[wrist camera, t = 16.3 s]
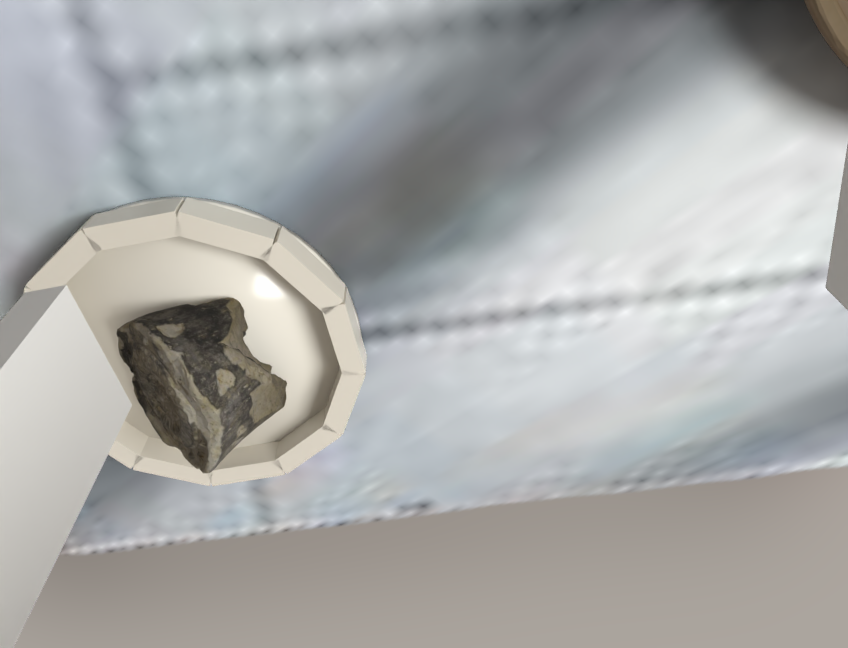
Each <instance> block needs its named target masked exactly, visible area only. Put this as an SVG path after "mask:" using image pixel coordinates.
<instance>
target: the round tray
mask: <svg viewBox="0 0 848 648" xmlns="http://www.w3.org/2000/svg"><path fill="white" fill-rule="evenodd" d="M63 285H67V287H68V289H69V290H70V292H71V294H72V296H73V298H74V299H75V301H76V303H77V305H78V307H79V309H80V310H81V312H82V314H83V316H84V318H85V320H86V321H87V323H88V325H89V327H90V329H91V331H92V332H93V334H94V336H95V338H96V340H97V342H98V343H99V345H100V347H101V349H102V351H103V352H104V354H105V356H106V358H107V360H108V362H109V363H110V365H111V367H112V369H113V371H114V373H115V374H116V376H117V378H118V380H119V382H120V384H121V385H122V387H123V389H124V391H125V393H126V395H127V396H128V398H129V400H130V402H131V404H132V406H131V408H130V411H129V413H128V415H127V417H126V419H125V421H124V423H123V425H122V427H121V429H120V431H119V433H118V435H117V437H116V439H115V441H114V443H113V445H112V447H111V449H110V451H109V453H108V455H110V456H111V457H113V458H114V459H116V460H118V461H119V462H121V463H122V464H124V465H125V466H127V467H128V468H132V467H133V466H134V468H133V470H136V471H141V472H146V473H150V474H155V475H160V476H165V477H169V478H174V479H179V480H183V481H188V482H193V483H197V484H202V485H207V486H210V484H212V486H217V485H224V484H230V483H236V482H243V481H249V480H255V479H262V478H268V477H274V476H281V475H285V473H287V474H288V473H289V472H291V471H292V470H294V469H295V468H296V467H298V466H299V465H301V464H302V463H304V462H305V461H306V460H308V459H309V458H311V457H312V456H314V455H315V454H317V453H318V452H319V451H321V450H322V449H324V448H325V447H327V446H328V445H329V444H331V443H332V442H334V441H335V440H337V439H338V438H340V437H341V434H343V433H344V430H345V427H346V425H347V422H348V420H349V417H350V414H351V412H352V409H353V407H354V404H355V401H356V399H357V396H358V394H359V391H360V388H361V386H362V383H363V380H364V378H365V374H366V359H367V354H366V351H365V347H364V344H363V340H362V336H361V328H360V323H359V319H358V314H357V312H356V309H355V306H354V304H353V301H352V298H351V296H350V295H349V292H348V288H347V287H345V284H344V283H343V282H342V280H341V279H340V278H339V276H338V275H337V273H336V272H335V271H334V269H333V268H332V267H331V265H330V264H329V263H328V262H327V261H326V260H325V259H324V258H323V257H322V256H321V255H320V254H319V253H318V252H317V250H315V249H314V248H313V247H312V246H311V245H309V244H308V243H307V242H306V241H305V240H303V239H302V238H301V237H300V236H298V235H297V234H295V233H294V232H292V231H291V230H289V229H287V228H286V227H284V226H283V225H281V224H280V223H278V222H276V221H274V220H271V219H269V218H267V217H265V216H263V215H261V214H259V213H257V212H254V211H251V210H248V209H246V208H243V207H240V206H237V205H233V204H229V203H225V202H221V201H217V200H212V199H203V198H195V197H161V198H153V199H146V200H141V201H137V202H133V203H129V204H125V205H122V206H119V207H117V208H115V209H112V210H110V211H107V212H102V213H97V214H95V215H94V216H93V215H92V216H91V217H90V218H89V219H88V220H87V221H86V222H85V223H84V224H83V225H82V226H81V227H80V228H79V229H78V230H77V231H76V232H75V233H74V234H73V235H72V236H71V237H70V238H69V239H68V240H67V241H66V243H65V244H64V245H63V246H62V247H61V248H60V249H59V250H58V251H57V252H56V253H55V254H54V255H53V256H52V257H51V258H50V259H49V260H48V261H47V262H46V263H45V264H44V265H43V266H42V267H41V268H40V269H39V270H38V271H37V272H36V274H35V275H34V276H33V277H32V278H31V279H30V280H29V282H28V283H27V284H26V285H25V288H24V293H25V292H31V291H36V290H42V289H47V288H52V287H58V286H63ZM224 298H234V299H236V300H238V301H239V302H240V303H241V305H242V307H243V309H244V317H245V320H246V323H247V325H248V329H247V331H246V335H245V336H244V337H243V340H244V342H245V344H246V345H247V347H248V348H249V351H250V352H251V354H252V355H253V357H255V358H257V359H258V360H259V361H260V362H262V363H265V364H269V365H271V366H272V369H271V374H275V375H277V376H278V377H280V378H281V379H283V380H286V382H287V386H286V402H285V405H284V407H283V408H282V409H280V410H279V411H278V412H276V413H275V414H274V415H273V416H271V417H270V418H269V419H267V420H266V421H265V422H263V423H262V424H261V425H259V426H258V427H257V428H256V429H255V430H253V431H252V432H251V433H250V434H249V435H248V436H246V437H245V438H244V439H243V440H242V441H241V442H240V443H239V444H238V445H237V446H236V447H235V448H234V449H233V450H232V451H231V452H230V453H229V454H228V455H227V456H226V457H225V458H224V459H223V460H222V461H221V462H220V464H219V465H218V466H217V467H216V468H215V469H214V470H213V471H212V472H210V473H202V472H201V470H200V469H196V468H195V467H194V466H192V465H191V464H190V463H189V462H188V461H187V460H186V459H185V457H184V456H183V454H182V452H181V451H180V450H179V449H178V448H176V447H171V446H168V445H166V444H165V443H164V442H163V441H162V440H161V438H160V436H159V435H158V434H157V432H156V431H155V429H154V428H153V426H152V424H151V423H150V421H149V419H148V418H147V416H146V415H145V412H144V409H143V408H142V407H141V405H140V404H139V402H138V400H137V398H136V396H135V393H134V386H133V383H132V377H133V376H134V374H133V373H131V371H130V368H129V367H128V366H127V364H126V363H124V361H123V360H122V358H121V356H120V354H119V349H118V337H117V334H116V333H117V329H118V328H120V327H121V326H122V325H124V324H125V323H127V322H129V321H132V320H134V319H136V318H138V317H141V316H143V315H146V314H148V313H152V312H156V311H160V310H163V309H167V308H171V307H175V306H179V305H184V304H190V305H195V306H196V305H199V304H202V303H208V302H210V301H214V300H219V299H224Z"/></svg>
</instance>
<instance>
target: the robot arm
mask: <svg viewBox="0 0 848 648" xmlns="http://www.w3.org/2000/svg"><path fill="white" fill-rule="evenodd" d="M826 289H827V290H828V291H829V292H830V293H831V294H832V295H833V296H834V297H835V298H836V299H837V300H838V301H839V302H840V303H841V304H842V305H843V306H844V307H845V308H846V309H847V310H848V145H847V152H846V158H845V165H844V171H843V178H842V184H841V191H840V197H839V204H838V210H837V217H836V223H835V230H834V236H833V243H832V249H831V256H830V262H829V269H828V276H827V282H826ZM131 406H132V404H131V402H130V400H129V398H128V396H127V395H126V393H125V391H124V389H123V387H122V385H121V384H120V382H119V380H118V378H117V376H116V374H115V373H114V371H113V369H112V367H111V365H110V363H109V362H108V360H107V358H106V356H105V354H104V352H103V351H102V349H101V347H100V345H99V343H98V342H97V340H96V338H95V336H94V334H93V332H92V331H91V329H90V327H89V325H88V323H87V321H86V320H85V318H84V316H83V314H82V312H81V310H80V309H79V307H78V305H77V303H76V301H75V299H74V298H73V296H72V294H71V292H70V290H69V289H68V287H67V285H63V286H58V287H52V288H47V289H42V290H36V291H31V292H25V293H24V294H23V295H22V297H21V298H20V299H19V300H18V301H17V302H16V304H15V305H14V306H13V307H12V308H11V309H10V310H9V312H8V313H7V314H6V315H5V316H4V317H3V319H2V320H1V321H0V648H14V646H15V643H16V642H17V640H18V637H19V635H20V633H21V631H22V629H23V627H24V625H25V623H26V621H27V619H28V617H29V615H30V613H31V611H32V609H33V607H34V605H35V603H36V601H37V599H38V596H39V595H40V593H41V590H42V588H43V586H44V584H45V582H46V580H47V578H48V576H49V574H50V572H51V570H52V568H53V566H54V564H55V562H56V560H57V558H58V556H59V554H60V552H61V550H62V548H63V546H64V543H65V541H66V539H67V537H68V535H69V533H70V531H71V529H72V527H73V525H74V523H75V521H76V519H77V517H78V515H79V513H80V511H81V509H82V507H83V505H84V503H85V501H86V498H87V496H88V494H89V492H90V490H91V488H92V486H93V484H94V482H95V480H96V478H97V476H98V474H99V472H100V470H101V468H102V466H103V464H104V462H105V460H106V458H107V456H108V453H109V451H110V449H111V447H112V445H113V443H114V441H115V439H116V437H117V435H118V433H119V431H120V429H121V427H122V425H123V423H124V421H125V419H126V417H127V415H128V413H129V411H130V408H131Z"/></svg>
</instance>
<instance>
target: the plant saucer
mask: <svg viewBox="0 0 848 648" xmlns="http://www.w3.org/2000/svg"><path fill="white" fill-rule="evenodd" d="M804 2H805V4H806V6H807V9H808V11H809V13H810V15H811V17H812V19H813V20H814V22H815V24H816V26H817V28H818V30H819V32H820V33H821V35H822V36H823V38H824V39H825V41H826V42H827V44H828V45H829V46H830V48H831V49H832V50H833V51H834V53H835V54H836V55H837V56H838V58H839V59H840V60H841V61H842V62H843V63H844V64H845V65H846V66H847V67H848V0H804Z"/></svg>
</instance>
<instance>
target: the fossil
mask: <svg viewBox="0 0 848 648" xmlns="http://www.w3.org/2000/svg"><path fill="white" fill-rule="evenodd" d="M247 329H248V325H247V323H246V320H245V317H244V309H243V307H242V305H241V303H240V302H239V301H238V300H236V299H234V298H224V299H219V300H214V301H210V302H208V303H202V304H199V305H196V306H195V305H190V304H184V305H179V306H175V307H171V308H167V309H163V310H160V311H156V312H152V313H148V314H146V315H143V316H141V317H138V318H136V319H134V320H132V321H129V322H127V323H125V324H124V325H122V326H121V327H120V328H118V329H117V333H116V334H117V337H118V349H119V354H120V356H121V358H122V360H123V361H124V363H126V364H127V366H128V367H129V368H130V371H131V373H133V374H134V376H133V377H132V383H133V386H134V393H135V396H136V398H137V400H138V402H139V404H140V405H141V407H142V408H143V409H144V412H145V415H146V416H147V418H148V419H149V421H150V423H151V424H152V426H153V428H154V429H155V431H156V432H157V434H158V435H159V436H160V438H161V440H162V441H163V442H164V443H165V444H166V445H168V446H171V447H176V448H178V449H179V450H180V451H181V452H182V454H183V456H184V457H185V459H186V460H187V461H188V462H189V463H190V464H191V465H192V466H194V467H195V468H196V469H200V470H201V472H202V473H210V472H212V471H213V470H214V469H215V468H216V467H217V466H218V465H219V464H220V462H221V461H222V460H223V459H224V458H225V457H226V456H227V455H228V454H229V453H230V452H231V451H232V450H233V449H234V448H235V447H236V446H237V445H238V444H239V443H240V442H241V441H242V440H243V439H244V438H245V437H246V436H248V435H249V434H250V433H251V432H252V431H253V430H255V429H256V428H257V427H258V426H259V425H261V424H262V423H263V422H265V421H266V420H267V419H269V418H270V417H271V416H273V415H274V414H275V413H276V412H278V411H279V410H280V409H282V408H283V407H284V405H285V402H286V386H287V382H286V380H283V379H281V378H280V377H278V376H277V375H275V374H271V369H272V366H271V365H269V364H265V363H262V362H260V361H259V360H258V359H257V358H255V357H253V355H252V354H251V352H250V351H249V348H248V347H247V345H246V344H245V342H244V340H243V337H244V336H245V335H246V331H247Z"/></svg>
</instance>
